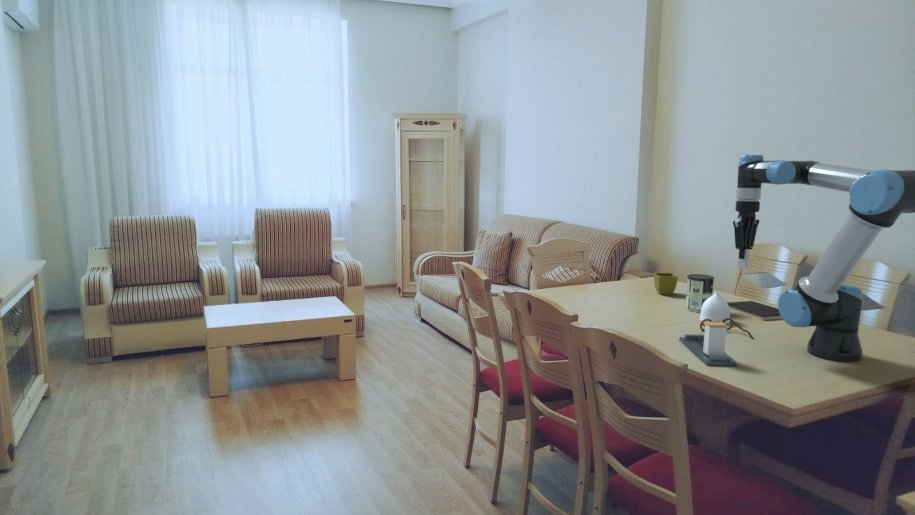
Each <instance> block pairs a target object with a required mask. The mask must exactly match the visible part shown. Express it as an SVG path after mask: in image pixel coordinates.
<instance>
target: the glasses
mask: <svg viewBox="0 0 915 515" xmlns="http://www.w3.org/2000/svg"><path fill="white" fill-rule="evenodd" d="M726 320H730V322H731V324H730V326H729V327H727V328H726V331H728V330H731V329H732V328H733V327H734V326H736V328H739V329H740V330H741V331H742V332H745V333H747V334H748V335H749V337H750V339H751V340H754V341H755V338H754V336H753V335H752V334H751V332H750V331H749V330H746V329H744V328H743V327H742V326H740V325H738V324H737V323H736V322H735V321H734V320H733V318H731V317H730V318H727V319H724V320H723V321H722V322H723V323H724V322H725V321H726ZM705 321H710V322H712V321H711V320H710V319H705V320H703V321H700V324H699V329H700V330H701V331H702V332H705ZM714 322H721V321H714ZM703 327H704V328H703Z"/></svg>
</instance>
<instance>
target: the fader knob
mask: <svg viewBox="0 0 915 515" xmlns="http://www.w3.org/2000/svg"><path fill="white" fill-rule="evenodd" d="M704 324H705V327H704V329H705V331H704V346H703V352H704V353H705V354H707V355H724V352H725V350H726V349H725V347H726V336H727V330H726V328H728V324H724V323H723V322H704Z"/></svg>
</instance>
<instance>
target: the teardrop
mask: <svg viewBox="0 0 915 515" xmlns="http://www.w3.org/2000/svg"><path fill="white" fill-rule="evenodd" d="M727 318H731V310H730V308H729V305H728V304H727V301H726V300H725V299H724V298H723V297H722V296H721V294H720V293H719V292H718V290H716V291H715V293H714V294H712V296H711V297H709V298H708V299H707V300H706V301H705V302H704V303H703V305H702V308H701V312H700V315H699V321H701V320H702V321H703V320H705V319H710V320H711V321H712V322H714V321H721V322H722V321H723V320H724V319H727ZM702 321H701V322H702ZM705 322H710V321H705ZM705 322H704V323H705ZM730 322H731V320H726V321H725V322H724V324H725V325H728V324H730Z"/></svg>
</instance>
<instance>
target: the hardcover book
mask: <svg viewBox="0 0 915 515" xmlns="http://www.w3.org/2000/svg"><path fill="white" fill-rule="evenodd" d="M726 302H727V301H726ZM727 304H728V305H729V308H730V309H732V310H731V311H733V310H734V311H733V312H736V311H737V313H739V312H740V313H739V314H742V313H743V315H745V314H746V315H745V316H748V315H749V316H748V317H751V316H752V318H754V317H755V318H754V319H757V318H758V319H757V320H760V321H772V320H783V318H782V317H781V315H780V313H779V308H778V307H777V308H776V307H774V306H771V305H766V304H764V303H760V302H757V301H755V300H746V301H732V302H731V301H730V302H727Z"/></svg>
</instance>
